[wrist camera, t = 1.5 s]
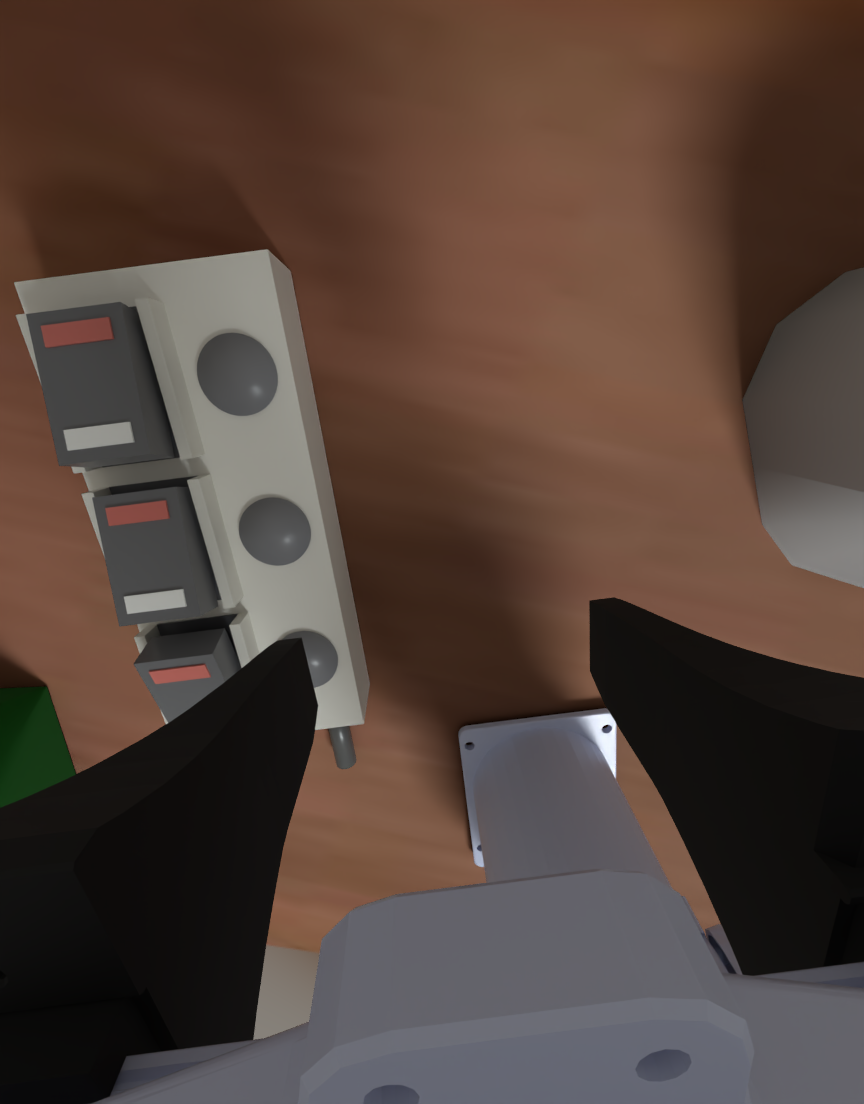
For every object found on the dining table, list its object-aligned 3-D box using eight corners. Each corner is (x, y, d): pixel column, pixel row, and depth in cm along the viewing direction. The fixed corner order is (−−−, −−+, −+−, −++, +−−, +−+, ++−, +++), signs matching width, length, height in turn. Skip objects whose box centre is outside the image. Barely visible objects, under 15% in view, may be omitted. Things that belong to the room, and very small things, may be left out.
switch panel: (382, 748, 25) (376, 813, 21) (229, 767, 25) (197, 835, 21) (290, 271, 18) (257, 240, 14) (77, 298, 18) (-14, 275, 14)
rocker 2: (218, 606, 18) (199, 616, 16) (143, 615, 18) (118, 627, 16) (196, 487, 17) (174, 486, 16) (118, 497, 17) (90, 497, 16)
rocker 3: (259, 707, 20) (250, 737, 19) (194, 716, 20) (180, 746, 19) (224, 628, 18) (212, 655, 17) (150, 637, 18) (132, 665, 17)
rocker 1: (174, 457, 16) (148, 453, 15) (91, 468, 16) (57, 465, 15) (148, 318, 15) (119, 301, 14) (61, 329, 15) (23, 313, 14)
